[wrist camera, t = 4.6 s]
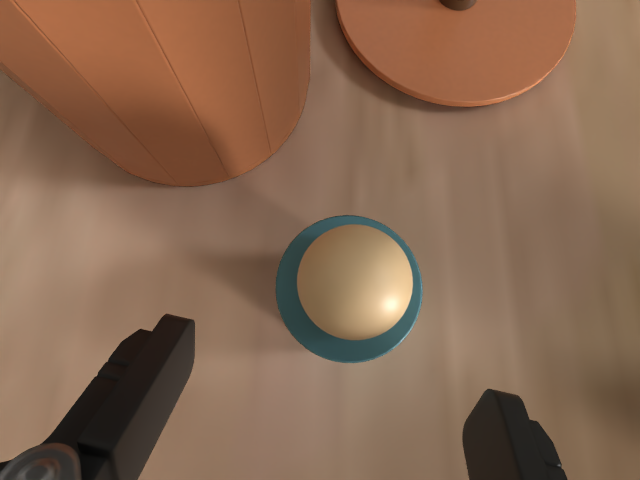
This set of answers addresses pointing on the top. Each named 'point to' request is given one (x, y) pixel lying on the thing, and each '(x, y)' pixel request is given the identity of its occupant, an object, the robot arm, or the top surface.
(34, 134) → the top surface
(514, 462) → the robot arm
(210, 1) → the pot
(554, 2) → the lid
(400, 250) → the toy doll
